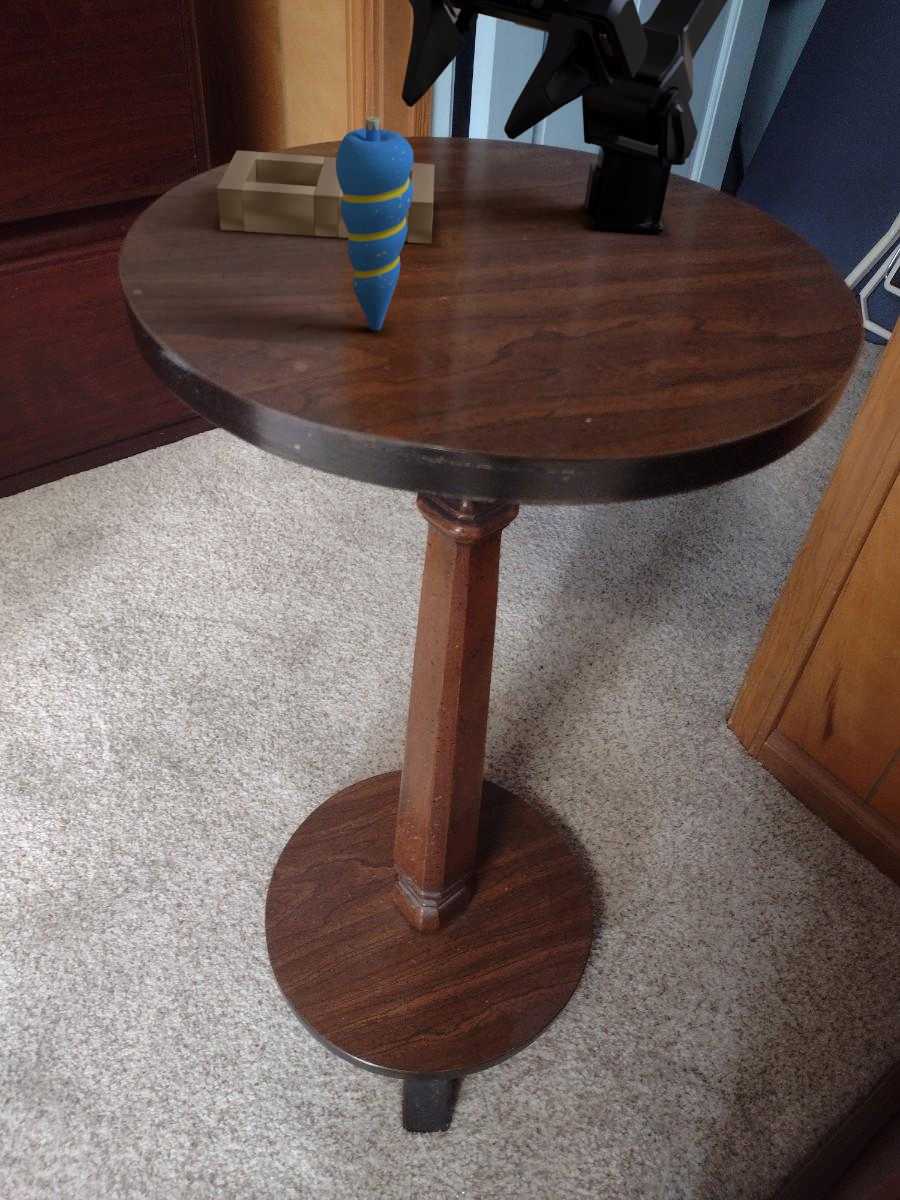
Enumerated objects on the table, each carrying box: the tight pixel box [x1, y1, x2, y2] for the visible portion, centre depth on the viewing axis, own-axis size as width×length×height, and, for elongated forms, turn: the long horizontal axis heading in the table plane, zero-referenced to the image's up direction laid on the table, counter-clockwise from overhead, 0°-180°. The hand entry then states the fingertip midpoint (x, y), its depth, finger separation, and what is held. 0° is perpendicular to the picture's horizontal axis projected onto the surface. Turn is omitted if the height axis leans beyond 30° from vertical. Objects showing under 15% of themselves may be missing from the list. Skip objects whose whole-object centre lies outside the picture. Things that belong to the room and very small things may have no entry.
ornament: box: [335, 106, 415, 332], centre depth 66 cm, size 5×5×15 cm
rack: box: [216, 150, 435, 245], centre depth 86 cm, size 18×10×4 cm, turn 90°
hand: (455, 118), depth 67 cm, fingers open, 9 cm apart
